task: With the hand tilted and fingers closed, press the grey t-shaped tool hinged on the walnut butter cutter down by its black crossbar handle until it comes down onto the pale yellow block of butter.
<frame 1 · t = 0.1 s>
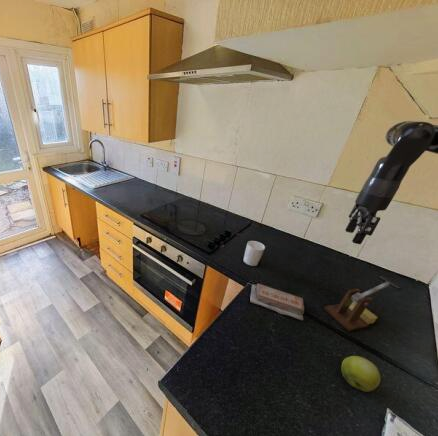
hand: (352, 237, 76), 31 cm above the table, tool pointing down, fingers open, 8 cm apart
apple: (352, 381, 65), on the table
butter: (358, 314, 86), on the table
cutter: (344, 317, 85), on the table
packaged product: (274, 303, 89), on the table
grey t-shaped tool: (373, 290, 80), point 13 cm above the table, hinge at 25.0°
white cup: (250, 262, 112), on the table
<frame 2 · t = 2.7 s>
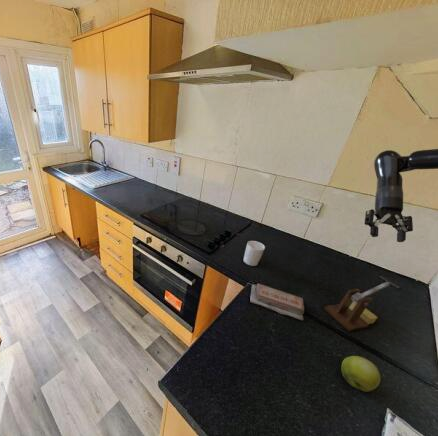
hand: (387, 239, 85), 27 cm above the table, tool tilted 40°, fingers open, 8 cm apart
nothing on the table moved.
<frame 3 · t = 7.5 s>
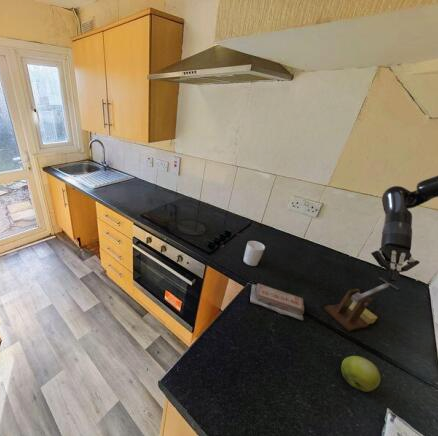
hand: (392, 280, 80), 16 cm above the table, tool tilted 45°, fingers closed
grey t-shaped tool: (372, 291, 80), point 12 cm above the table, hinge at 21.6°, touching gripper
everything else where it was.
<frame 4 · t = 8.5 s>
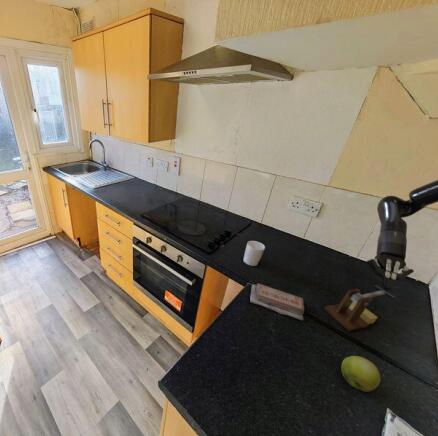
hand: (387, 288, 82), 12 cm above the table, tool tilted 45°, fingers closed
grey t-shaped tool: (371, 295, 81), point 10 cm above the table, hinge at 3.8°, touching gripper
everything else where it was.
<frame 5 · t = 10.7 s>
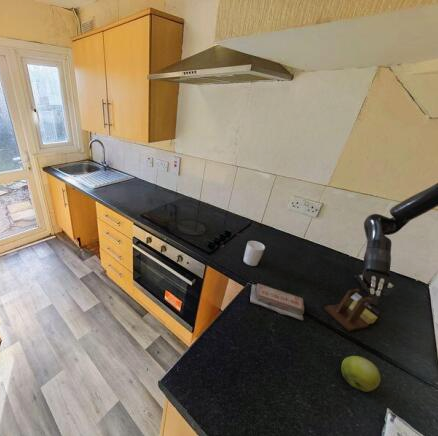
hand: (371, 305, 85), 4 cm above the table, tool tilted 45°, fingers closed
grey t-shaped tool: (363, 302, 83), point 7 cm above the table, hinge at -32.5°, touching gripper
everything else where it was.
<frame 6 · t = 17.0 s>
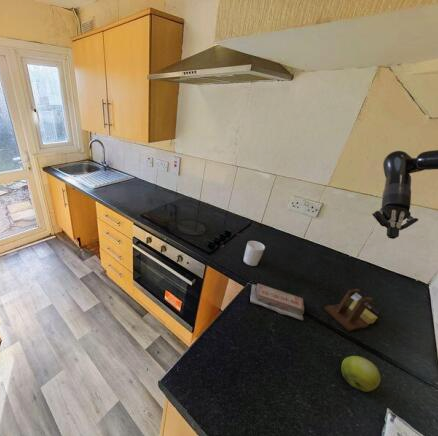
hand: (392, 237, 84), 28 cm above the table, tool tilted 45°, fingers closed
grey t-shaped tool: (363, 302, 83), point 7 cm above the table, hinge at -32.5°
everything else where it was.
at the end: grey t-shaped tool at -32° (first picture: +25°) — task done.
